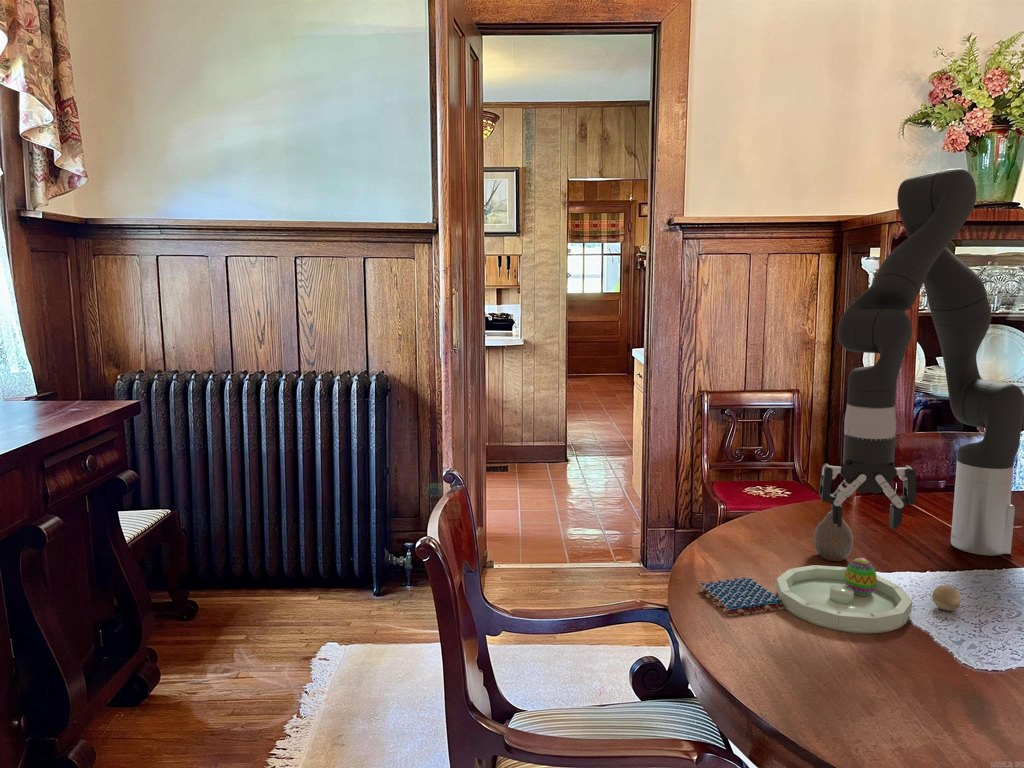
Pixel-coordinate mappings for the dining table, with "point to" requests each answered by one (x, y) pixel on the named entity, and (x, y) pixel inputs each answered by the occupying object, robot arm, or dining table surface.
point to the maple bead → (946, 597)
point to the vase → (833, 539)
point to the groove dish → (837, 616)
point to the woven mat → (741, 596)
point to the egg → (861, 577)
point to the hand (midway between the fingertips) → (865, 526)
